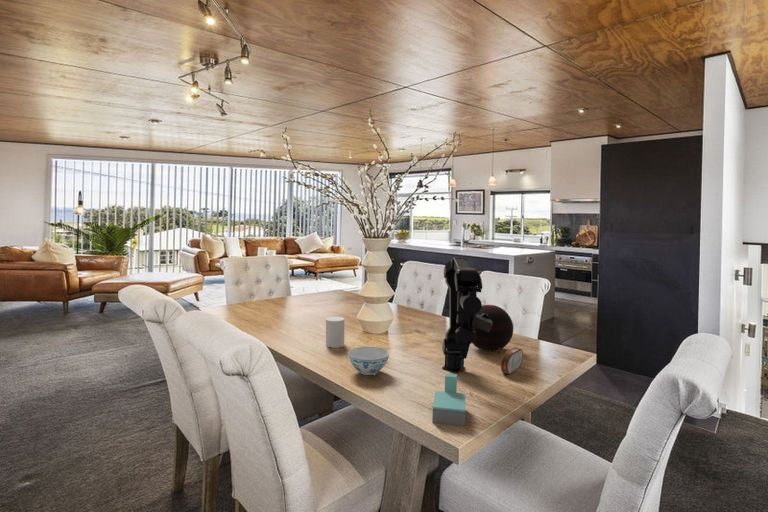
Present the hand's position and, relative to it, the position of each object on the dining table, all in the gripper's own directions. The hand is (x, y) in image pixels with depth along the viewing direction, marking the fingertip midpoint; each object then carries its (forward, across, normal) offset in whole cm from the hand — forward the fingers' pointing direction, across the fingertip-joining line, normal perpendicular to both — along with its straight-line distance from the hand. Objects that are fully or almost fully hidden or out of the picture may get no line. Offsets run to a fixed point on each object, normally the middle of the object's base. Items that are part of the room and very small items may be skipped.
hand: (464, 353), depth 142 cm
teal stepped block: (+13, -18, +4) cm, 22 cm away
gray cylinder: (+13, +39, +56) cm, 70 cm away
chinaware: (+13, +10, +34) cm, 38 cm away
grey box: (+13, -19, +4) cm, 24 cm away
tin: (+13, +24, -18) cm, 33 cm away
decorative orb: (+13, +47, -11) cm, 50 cm away
